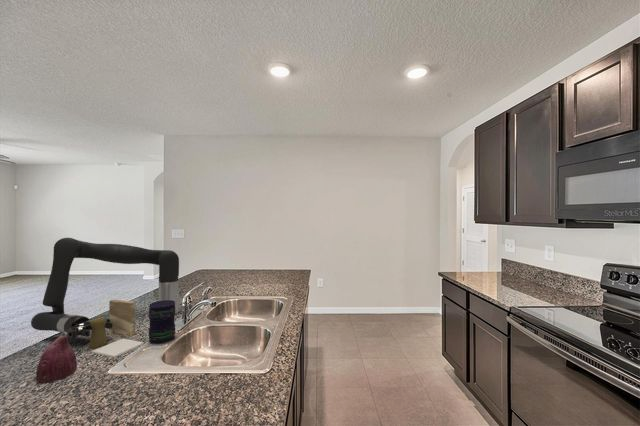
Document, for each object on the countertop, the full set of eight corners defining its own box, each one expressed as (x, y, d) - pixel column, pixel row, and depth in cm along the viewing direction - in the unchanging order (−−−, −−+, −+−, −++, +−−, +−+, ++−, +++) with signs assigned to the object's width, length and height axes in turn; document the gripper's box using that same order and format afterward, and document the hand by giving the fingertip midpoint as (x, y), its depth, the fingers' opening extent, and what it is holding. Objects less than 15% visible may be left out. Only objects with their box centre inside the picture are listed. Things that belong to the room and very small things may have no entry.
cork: (111, 342, 119) (111, 315, 119) (98, 349, 113) (99, 320, 113) (97, 342, 120) (98, 315, 120) (84, 348, 114) (84, 320, 114)
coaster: (122, 340, 122) (122, 338, 122) (144, 344, 118) (144, 342, 118) (91, 352, 110) (91, 351, 110) (114, 357, 106) (114, 355, 106)
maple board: (115, 329, 133) (116, 298, 133) (137, 333, 128) (137, 301, 129) (106, 333, 129) (107, 301, 129) (128, 337, 125) (128, 304, 125)
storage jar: (143, 341, 120) (143, 304, 121) (165, 332, 129) (165, 299, 129) (158, 346, 116) (158, 308, 116) (180, 337, 125) (180, 302, 125)
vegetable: (81, 378, 98) (95, 335, 99) (44, 391, 89) (60, 343, 90) (63, 365, 102) (76, 323, 103) (25, 376, 92) (41, 330, 93)
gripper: (53, 321, 115) (81, 326, 109) (91, 310, 128) (118, 314, 123) (52, 340, 115) (80, 346, 109) (91, 327, 128) (118, 332, 123)
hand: (100, 329), depth 116 cm, fingers open, 8 cm apart
